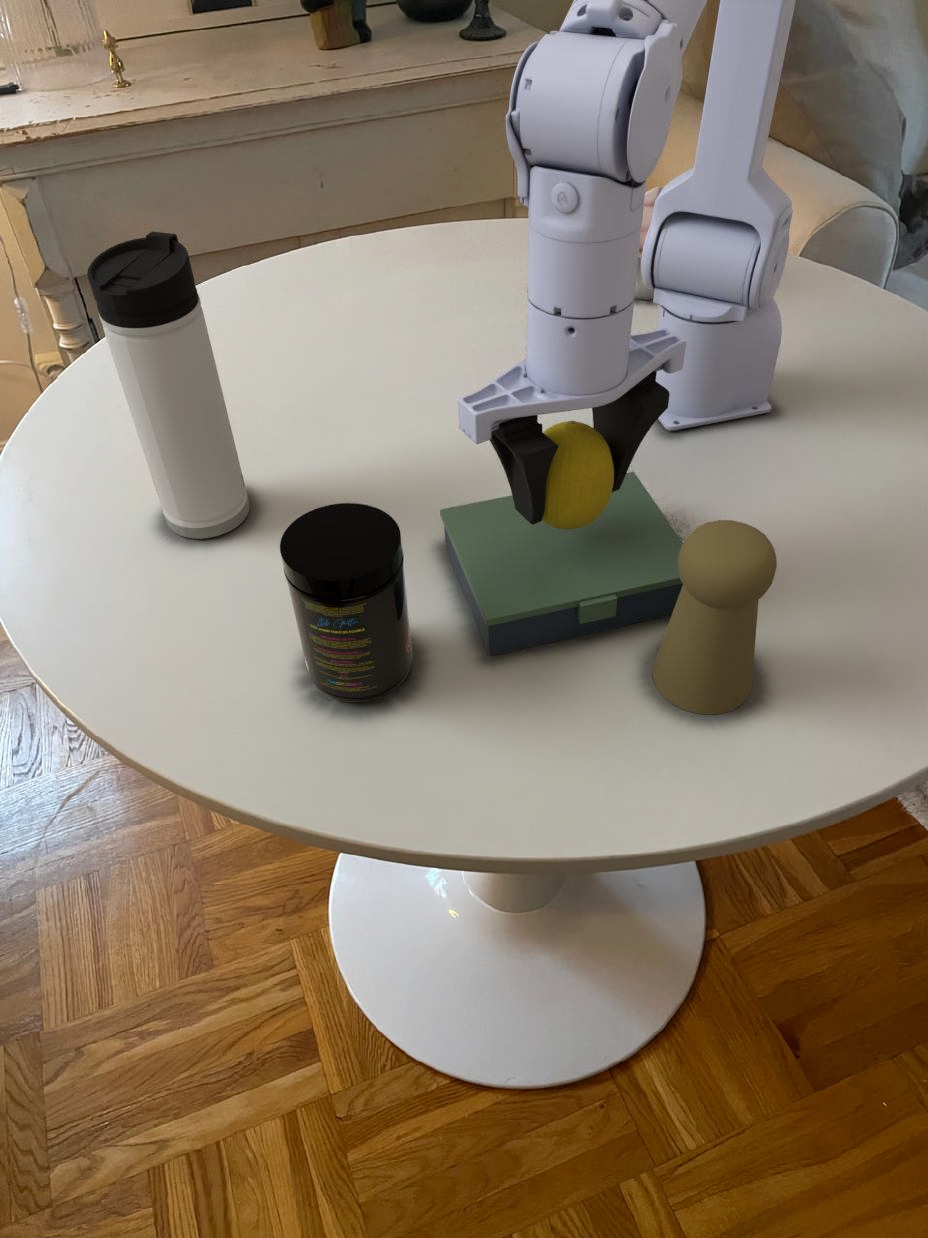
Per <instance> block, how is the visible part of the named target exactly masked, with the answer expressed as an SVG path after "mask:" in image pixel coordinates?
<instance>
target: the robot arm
mask: <svg viewBox="0 0 928 1238" xmlns="http://www.w3.org/2000/svg"><path fill="white" fill-rule="evenodd" d="M796 1H797V0H719V5H718V6H719V7H718V13H717V18H716V19H717V20H716V24H715V32H714V37H713V38H714V39H713V44H712V51H711V58H710V64H709V70H708V74H707V75H708V76H707V82H706V88H705V95H704V101H703V108H702V113H701V120H700V126H699V133H698V138H697V145H696V146H697V147H696V150H695V151H696V152H695V158H694V165H693V167H691V168H689V169H688V170H686V171H684V172H682V173H681V174H679V175H677V176H676V177H674V178H673V179H671V180H670V181H669V182H668V183H666V185H664V187H662V188H663V189H662V190H661V192H660V194H659V195H658V197H657V199H656V200H655V204H654V209H653V215H652V219H651V224H650V226H649V229H648V231H647V235H646V238H645V242H644V246H643V251H642V258H641V273H642V277H643V279H644V281H645V284H646V286H647V288H649V289H653V290H654V299H652V301H653V304H656V305H658V306H659V310H658V318H657V326H656V327H657V328H656V330H652V331H648V332H642V333H636V334H632V326H633V318H634V317H633V316H634V307H635V298H634V296H635V286H636V276H637V266H638V256H639V246H640V236H641V227H642V219H643V209H644V199H645V193H646V189H647V180H648V178H650V176H651V175H652V173H653V172H654V170H655V168H656V167H657V165H658V163H659V161H660V159H661V157H662V155H663V153H664V150H665V147H666V143H667V140H668V136H669V134H670V128H671V125H672V120H673V116H674V115H673V114H674V109H675V105H676V102H677V98H678V95H679V93H680V90H681V84H682V82H683V78H684V75H683V73H684V72H683V64H682V57H683V55H684V53H685V50H686V48H687V46H688V44H689V42H690V39H691V37H692V35H693V33H694V31H695V28H696V27H697V24H698V22H699V19H700V17H701V15H702V13H703V11H704V8H705V6H706V4H707V2H708V0H573V2H572V4H571V5H570V8H569V10H568V11H567V13H566V16H565V17H564V20H563V22H562V24H561V26H560V28H559V30H551V31H549V33H545V34H544V36H542V38H541V39H540V40H539V41H535V42H533V43H531V44H529V46H527V47H526V48H525V50H524V51H523V53H522V55H521V57H520V59H519V61H518V63H517V66H516V68H515V71H514V75H513V78H512V82H511V88H510V94H509V104H508V110H507V111H508V112H507V113H506V115H505V131H506V139H507V144H508V149H509V152H510V155H511V158H512V159H513V161H514V164H515V167H516V173H517V197H518V198H519V201H520V202H519V203H520V204H521V205H523V206H524V207H525V208H528V213H527V221H528V222H527V223H528V224H527V275H526V280H527V281H526V338H525V339H526V340H525V343H526V345H525V351H524V352H525V354H524V355H525V358H524V359H523V360H521V361H520V362H517V364H515V365H514V366H512V367H511V368H509V369H508V370H506V371H505V372H503V373H502V374H500V375H499V376H498V377H496V378H495V379H493V380H492V381H490V382H488V383H487V384H486V385H483V386H482V387H481V388H479V389H477V390H476V391H473V392H471V393H469V394H467V395H465V396H461V397H459V398H458V399H457V413H458V414H457V415H458V429H459V430H460V431H461V432H462V433H463V434H464V435H465V436H467V437H468V439H470V440H471V441H472V442H473V443H474V444H476V445H480V444H483V443H484V442H485V443H486V442H487V441H489V442H490V444H491V446H492V447H493V449H494V451H495V453H496V455H497V457H498V459H499V461H500V463H501V466H502V467H503V471H504V473H505V475H506V479H507V481H508V485H509V488H510V491H511V492H510V493H511V495H512V496H513V500H514V505H515V509H516V510H517V511H518V512H519V513H520V514H521V515H522V516H523V517H524V518H525V519H526V520H527V521H528V522H529V523H530V524H533V525H534V524H536V523H539V522H541V521H542V518H543V515H544V510H545V493H546V482H547V477H548V473H549V469H550V465H551V463H552V460H553V457H554V455H555V453H556V451H557V449H558V447H559V446H558V445H557V444H556V443H555V442H553V441H552V440H551V439H550V438H549V437H547V436H546V435H545V434H544V433H543V432H544V431H543V423H540V422H538V419H539V418H538V417H539V416H540V415H549V414H557V413H565V412H572V411H573V412H574V411H581V410H586V409H591V411H592V412H591V413H592V428H594V429H595V430H596V431H598V432H599V433H600V434H601V435H602V436H603V438H604V439H605V441H606V442H607V444H608V446H609V448H610V452H611V456H612V461H613V467H614V483H613V488H612V492H614V491H617V490H619V489H620V487H621V485H622V482H623V480H624V478H625V475H626V473H628V471H629V469H630V466H631V464H632V462H633V459H634V457H635V455H636V453H637V451H638V449H639V447H640V445H641V443H642V442H643V440H644V438H645V437H646V435H647V434H648V432H649V431H650V429H651V428H652V427H653V425H654V424H655V423H656V422H657V420H658V421H659V423H660V424H661V425H662V427H663V428H664V429H665V430H666V431H670V432H672V431H673V432H674V431H678V430H683V429H684V430H685V429H690V428H695V427H699V426H704V425H710V424H715V423H716V424H717V423H720V422H721V423H722V422H727V421H731V420H736V419H742V418H747V417H753V416H757V415H764V414H767V413H770V412H771V411H772V404H770V403H769V401H768V400H769V395H770V392H771V387H772V382H773V378H774V374H775V369H776V365H777V362H778V361H777V360H778V356H779V351H780V347H781V342H782V335H783V329H782V327H783V326H782V325H783V324H782V317H781V312H780V308H779V305H778V304H777V302H776V300H775V299H774V296H775V295H776V293H777V289H778V288H779V284H780V281H781V280H782V279H781V278H782V275H783V272H784V269H785V266H786V261H787V257H788V253H789V247H790V229H791V223H792V218H793V213H794V212H793V208H792V205H793V202H792V200H791V198H790V196H789V195H788V194H787V193H786V192H785V191H784V190H783V188H781V187H780V186H779V185H778V184H777V183H776V182H775V181H774V179H772V177H771V176H770V175H769V174H768V172H767V171H766V169H765V168H764V167H763V164H764V159H765V155H766V150H767V145H768V140H769V134H770V131H771V126H772V125H771V124H772V119H773V115H774V109H775V105H776V100H777V95H778V92H779V91H778V90H779V85H780V81H781V76H782V72H783V71H782V70H783V67H784V60H785V56H786V50H787V45H788V41H789V37H790V32H791V26H792V21H793V15H794V11H795V6H796Z"/></svg>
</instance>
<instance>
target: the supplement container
mask: <svg viewBox="0 0 928 1238" xmlns="http://www.w3.org/2000/svg"><path fill="white" fill-rule="evenodd" d="M402 542H403V541H402V534H401V529H400V527H399V525H398V523H397V521H396V520H395V519H394V518H393V517H392V516H391V515H390V514H389V513H387V512H386V511H384V510H382V509H380V508H378V507H376V506H372V505H368V504H364V503H358V502H357V503H356V502H355V503H354V502H341V503H340V502H339V503H332V504H327V505H324V506H320V507H316V508H313V509H311V510H309V511H307V512H305V513H303V514H302V515H300V516H299V517H297V518H295V520H293V521H292V522H291V523H290V524H289V525H288V526H287V527H286V529H285V530H284V532H283V534H282V536H281V538H280V542H279V553H280V556H281V557H280V558H281V561H282V566H283V573H284V576H285V579H286V582H287V586H288V590H289V595H290V599H291V603H292V608H293V612H294V617H295V621H296V626H297V630H298V631H297V632H298V634H299V639H300V644H301V649H302V653H303V657H304V662H305V667H306V672H307V674H308V677H309V680H310V681H311V682H312V684H313V685H314V686H315V687H316V688H317V689H318V690H319V691H320V692H322V693H323V694H324V695H326V696H327V697H330V698H332V699H333V700H337V701H341V702H347V703H364V702H370V701H374V700H378V699H379V698H382V697H385V696H386V695H388V694H390V693H392V692H393V691H394V690H395V689H397V688H398V687H399V686H400V685H401V684H402V683H403V682H404V680H405V679H406V678H407V676H408V674H409V672H410V670H411V668H412V664H413V645H412V636H411V635H412V634H411V626H410V617H409V609H408V607H409V606H408V599H407V598H408V597H407V588H406V577H405V568H404V566H405V565H404V559H405V558H404V556H405V555H404V550H403V543H402Z"/></svg>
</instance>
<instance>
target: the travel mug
mask: <svg viewBox="0 0 928 1238" xmlns="http://www.w3.org/2000/svg"><path fill="white" fill-rule="evenodd" d="M86 275H87V276H86V277H87V281H88V284H89V286H90V289H91V292H92V296H93V299H94V301H95V303H96V307H97V311H98V317H99V320H100V323H101V324H102V329H103V333H104V336H105V339H106V342H107V345H108V348H109V351H110V354H111V357H112V361H113V363H114V366H115V369H116V372H117V375H118V379H119V381H120V384H121V387H122V391H123V394H124V396H125V400H126V403H127V406H128V409H129V412H130V415H131V418H132V422H133V424H134V428H135V430H136V433H137V436H138V439H139V444H140V446H141V449H142V452H143V455H144V458H145V461H146V464H147V467H148V470H149V473H150V477H151V479H152V483H153V485H154V488H155V489H154V490H155V491H156V495H157V498H158V501H159V504H160V507H161V510H162V513H163V516H164V519H165V522H166V525H167V526H168V528H169V529H170V530H171V531H172V532H174V533H175V534H176V535H179V536H181V537H184V538H186V539H187V538H188V539H195V540H196V539H199V540H200V539H201V540H203V539H209V538H214V537H219V536H222V535H225V534H227V533H228V532H229V533H230V532H231V531H233V530H235V529H236V528H237V527H238V526H240V525H241V524H242V523H243V522H244V521H245V519H246V518H247V516H248V514H249V511H250V504H251V503H250V500H249V496H248V493H247V492H248V491H247V488H246V484H245V480H244V476H243V471H242V467H241V463H240V459H239V455H238V451H237V446H236V443H235V438H234V434H233V430H232V426H231V422H230V417H229V414H228V409H227V405H226V401H225V397H224V393H223V392H224V391H223V388H222V384H221V380H220V376H219V372H218V367H217V363H216V360H215V355H214V351H213V347H212V343H211V340H210V335H209V331H208V326H207V322H206V319H205V314H204V310H203V308H202V301H201V298H200V295H199V293H198V289H197V287H196V285H195V284H196V281H195V277H194V273H193V268H192V264H191V261H190V256H189V253H188V250H187V248H186V247H185V246H184V245H183V244H182V243H181V242H179V238H178V236H177V234H176V233H171V232H161V231H153V230H152V231H150V232H149V233H147V234H145V237H140V238H134V239H129V240H126V241H123V242H121V243H117V244H115V245H113V246H110V247H109V248H107V249H106V250H104V251H102V252H101V253H99V255H97V256H96V257H95V258H94V259H93V260H92V261H91V262H90V264H89V267H88V269H87V273H86Z"/></svg>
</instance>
